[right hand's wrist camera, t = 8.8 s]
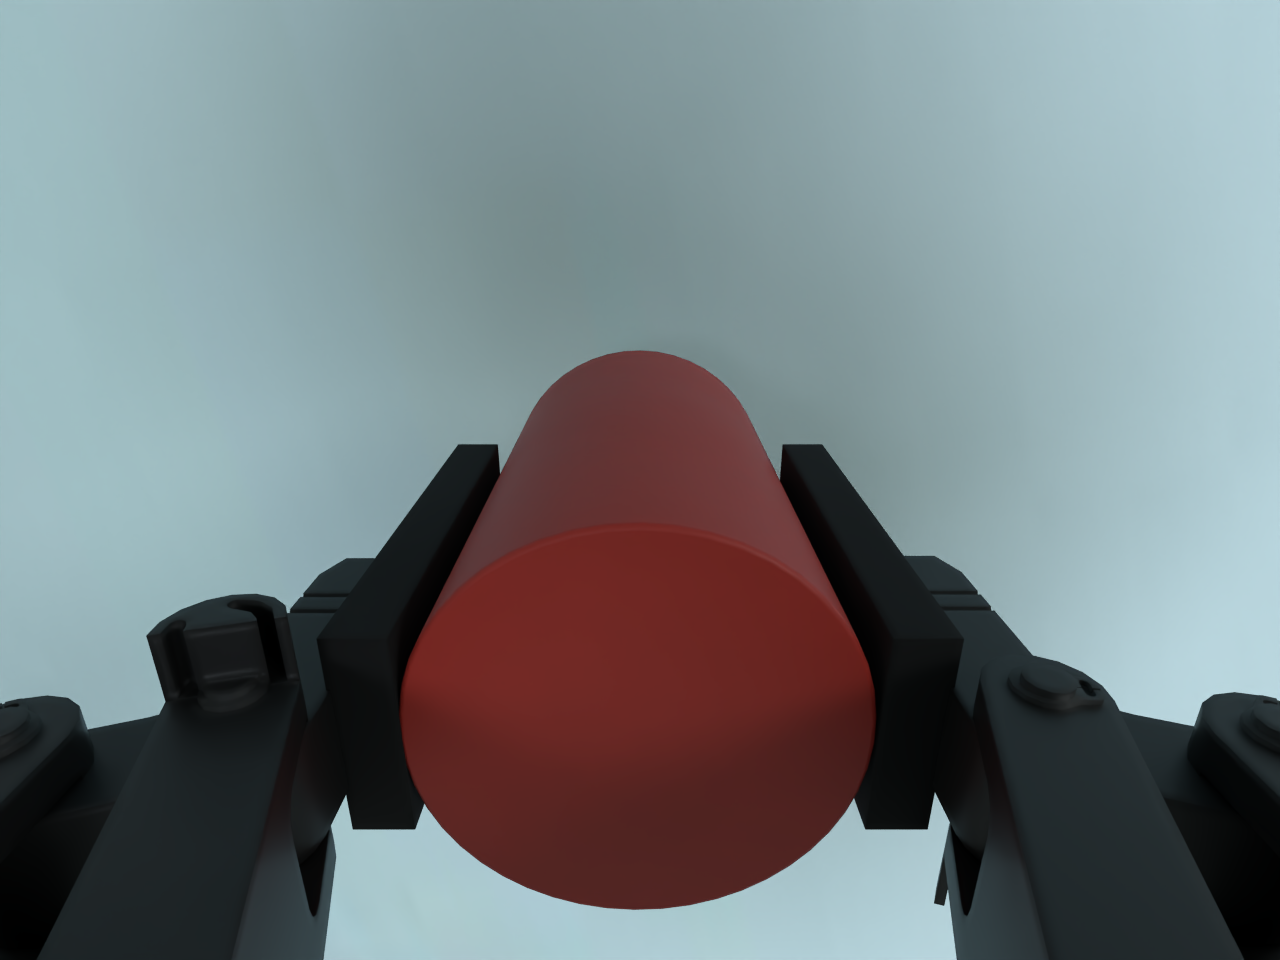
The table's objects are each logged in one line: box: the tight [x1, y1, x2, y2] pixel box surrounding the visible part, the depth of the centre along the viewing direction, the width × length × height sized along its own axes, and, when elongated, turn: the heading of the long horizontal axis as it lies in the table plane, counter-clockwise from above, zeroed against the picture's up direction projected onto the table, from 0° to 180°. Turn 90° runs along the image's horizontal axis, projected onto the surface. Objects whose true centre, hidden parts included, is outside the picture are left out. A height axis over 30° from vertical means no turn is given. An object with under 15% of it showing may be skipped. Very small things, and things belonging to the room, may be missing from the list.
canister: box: [399, 351, 877, 910], centre depth 12 cm, size 6×6×9 cm
